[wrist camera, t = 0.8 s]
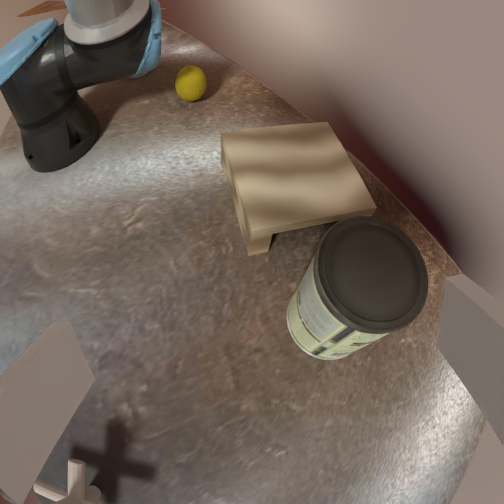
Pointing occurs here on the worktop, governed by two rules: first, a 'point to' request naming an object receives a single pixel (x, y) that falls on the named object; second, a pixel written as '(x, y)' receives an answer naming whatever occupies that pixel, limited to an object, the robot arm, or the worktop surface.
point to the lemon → (190, 83)
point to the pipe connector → (70, 487)
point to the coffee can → (357, 288)
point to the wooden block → (290, 180)
